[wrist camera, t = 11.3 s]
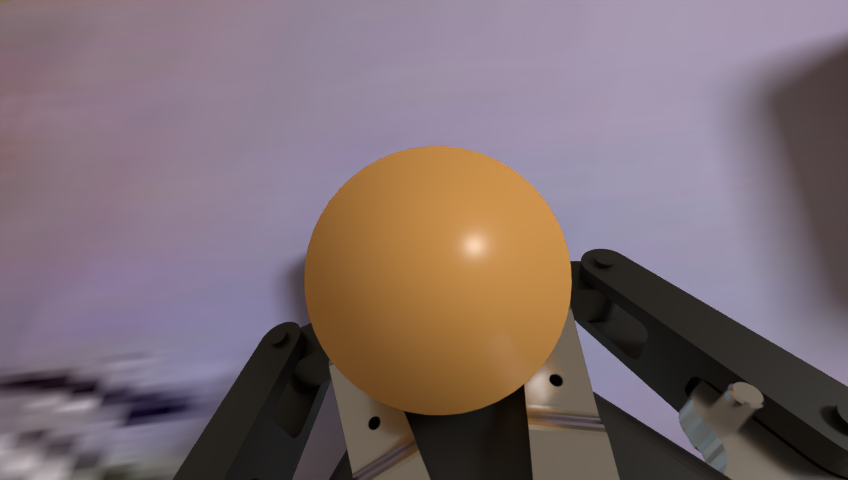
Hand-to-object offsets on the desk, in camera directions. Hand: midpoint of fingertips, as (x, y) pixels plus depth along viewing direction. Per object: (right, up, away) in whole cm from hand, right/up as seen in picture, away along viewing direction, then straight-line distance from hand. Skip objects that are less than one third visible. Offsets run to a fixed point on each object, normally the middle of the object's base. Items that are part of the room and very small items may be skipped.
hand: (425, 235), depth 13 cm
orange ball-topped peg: (+1, -3, +6) cm, 7 cm away
